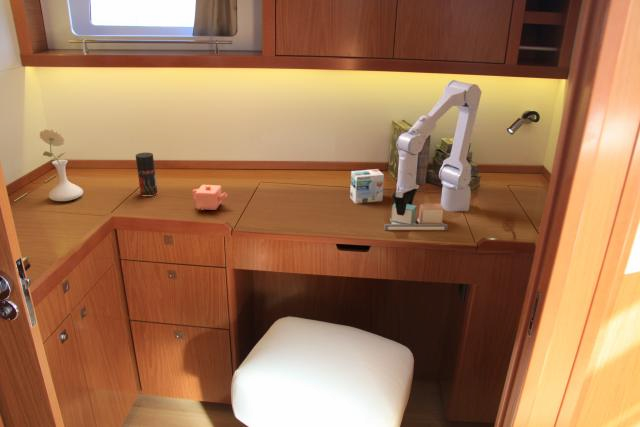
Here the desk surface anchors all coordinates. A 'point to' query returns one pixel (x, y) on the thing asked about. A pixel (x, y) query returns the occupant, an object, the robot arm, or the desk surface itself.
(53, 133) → the flower in vase
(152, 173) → the deodorant
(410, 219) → the teal box
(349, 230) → the desk surface
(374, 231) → the desk surface
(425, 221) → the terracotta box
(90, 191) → the desk surface
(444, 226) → the shelf board
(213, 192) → the pink cube teapot
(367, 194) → the light bulb box
